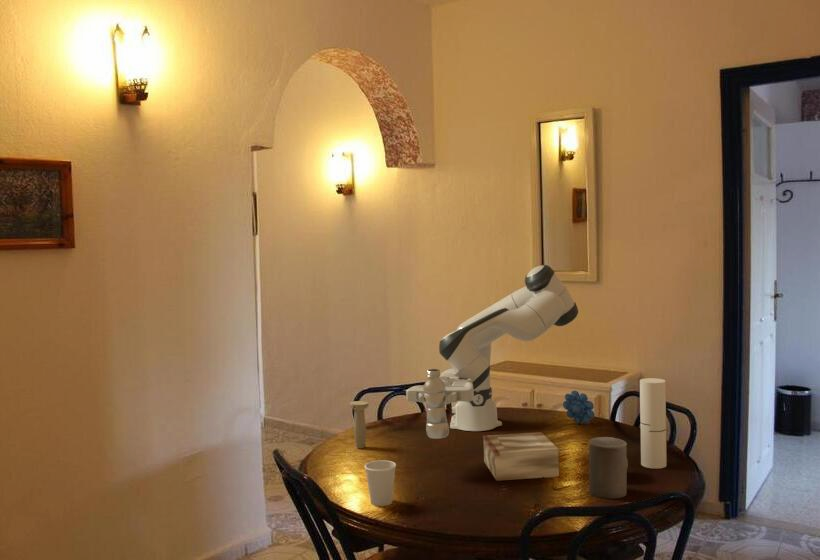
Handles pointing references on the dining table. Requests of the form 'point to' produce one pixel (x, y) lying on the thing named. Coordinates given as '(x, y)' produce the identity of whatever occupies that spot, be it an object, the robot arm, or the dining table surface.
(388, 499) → the dixie cup
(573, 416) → the grapes
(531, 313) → the robot arm
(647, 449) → the cylindrical container
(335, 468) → the dining table surface
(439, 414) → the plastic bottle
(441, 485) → the dining table surface
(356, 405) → the handle
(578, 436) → the dining table surface
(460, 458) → the dining table surface
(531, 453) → the riser block
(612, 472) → the pillar candle
